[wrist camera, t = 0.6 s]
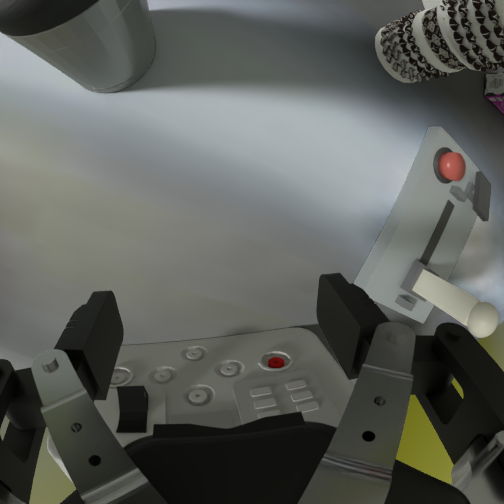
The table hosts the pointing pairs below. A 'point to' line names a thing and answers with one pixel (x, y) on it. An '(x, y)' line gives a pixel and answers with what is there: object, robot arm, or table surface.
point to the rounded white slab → (221, 383)
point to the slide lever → (451, 300)
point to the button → (451, 166)
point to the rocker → (481, 196)
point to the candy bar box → (495, 90)
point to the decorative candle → (443, 40)
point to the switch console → (421, 228)
